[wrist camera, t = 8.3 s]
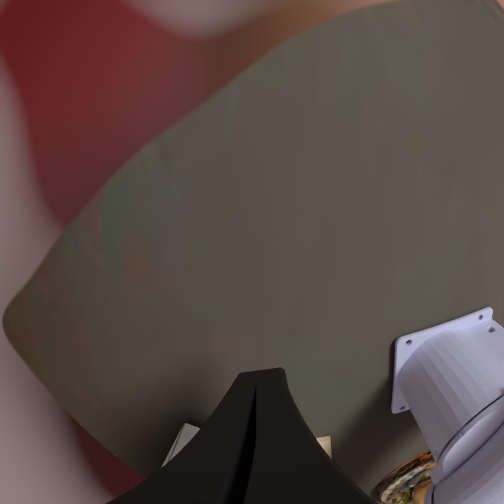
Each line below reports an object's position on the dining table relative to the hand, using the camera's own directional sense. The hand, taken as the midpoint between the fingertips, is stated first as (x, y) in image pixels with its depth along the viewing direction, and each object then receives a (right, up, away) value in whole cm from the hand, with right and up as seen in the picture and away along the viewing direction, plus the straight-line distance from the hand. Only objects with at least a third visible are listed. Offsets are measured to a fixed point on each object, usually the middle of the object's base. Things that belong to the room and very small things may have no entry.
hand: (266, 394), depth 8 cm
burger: (+21, -23, +16) cm, 35 cm away
